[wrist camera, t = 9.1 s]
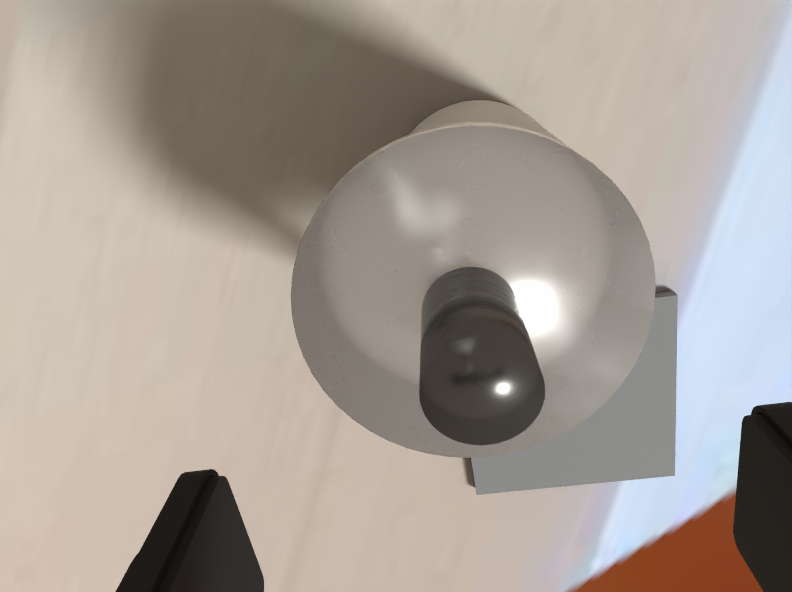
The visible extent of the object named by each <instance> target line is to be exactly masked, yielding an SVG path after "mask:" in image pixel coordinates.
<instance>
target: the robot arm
mask: <svg viewBox="0 0 792 592" xmlns="http://www.w3.org/2000/svg"><path fill="white" fill-rule="evenodd" d="M733 533H734V539H735V542H736V545H737V548H738V550H739V552H740V554H741V555H742V557H743V558H744V560H745V562H746V563H747V565H748V567H749V568H750V570H751V572H752V573H753V575H754V577H755V578H756V580H757V581H758V583H759V585H760V586H761V588H762V589H763V591H764V592H792V402H785V403H777V404H768V405H760V406H756V407H754V408H753V410H752V413H751V415H748V416H745V417H744V418H743V421H742V429H741V441H740V453H739V465H738V478H737V490H736V502H735V514H734V526H733ZM116 592H264V579H263V575H262V572H261V569H260V566H259V564H258V561H257V558H256V555H255V553H254V550H253V547H252V545H251V542H250V539H249V536H248V534H247V531H246V528H245V526H244V523H243V520H242V517H241V515H240V512H239V509H238V507H237V504H236V501H235V499H234V496H233V493H232V490H231V488H230V485H229V482H228V480H227V478H226V477H225V476H219V475H218V473H217V472H216V471H215V470H212V469H210V470H201V471H193V472H185V473H183V474H181V475H180V477H179V478H178V480H177V482H176V484H175V486H174V488H173V489H172V491H171V493H170V495H169V497H168V499H167V501H166V503H165V505H164V506H163V508H162V510H161V512H160V514H159V516H158V518H157V520H156V521H155V523H154V525H153V527H152V529H151V531H150V533H149V535H148V536H147V538H146V540H145V542H144V544H143V546H142V548H141V550H140V552H139V553H138V554H137V555H136V557H135V558H134V559H133V561H132V562H131V564H130V566H129V568H128V570H127V572H126V573H125V575H124V577H123V579H122V581H121V583H120V585H119V587H118V588H117V590H116Z"/></svg>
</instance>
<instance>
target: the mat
mask: <svg viewBox="0 0 792 592" xmlns="http://www.w3.org/2000/svg"><path fill="white" fill-rule="evenodd" d="M676 361H677V294H676V293H675V292H674V291H668V292H660V293H655V305H654V312H653V317H652V321H651V326H650V330H649V333H648V336H647V338H646V341H645V344H644V347H643V350H642V352H641V353H640V355H639V357H638V359H637V361H636V363H635V365H634V367H633V369H632V370H631V372H630V373H629V375H628V376H627V377H626V379H625V380H624V382H623V383H622V385H621V386H620V387H619V388H618V390H617V391H616V392H615V393H614V394H613V395H612V396H611V397H610V398H609V399H608V401H607V402H606V403H605V404H604V405H602V406H601V407H600V408H599V409H598V410H597V411H595V412H594V413H593V414H592V415H591V416H590V417H588V418H587V419H586V420H584V421H583V422H581V423H580V424H578V425H577V426H575V427H574V428H572V429H571V430H569V431H567V432H565V433H563V434H561V435H559V436H558V437H556V438H554V439H552V440H549V441H547V442H544V443H542V444H539V445H537V446H534V447H531V448H528V449H524V450H521V451H517V452H513V453H508V454H502V455H496V456H490V457H472V458H471V461H472V468H473V474H474V481H475V488H476V494H477V495H479V494H490V493H500V492H510V491H521V490H531V489H541V488H551V487H562V486H572V485H582V484H593V483H603V482H613V481H623V480H634V479H644V478H654V477H664V476H675V428H676Z"/></svg>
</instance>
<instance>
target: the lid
mask: <svg viewBox="0 0 792 592" xmlns="http://www.w3.org/2000/svg"><path fill="white" fill-rule="evenodd" d="M655 289H656V283H655V271H654V262H653V258H652V254H651V250H650V245H649V241H648V239H647V236H646V234H645V231H644V229H643V227H642V224H641V222H640V219H639V218H638V216H637V214H636V213H635V211H634V209H633V208H632V206H631V204H630V203H629V201H628V199H627V198H626V197H625V196H624V195H623V193H622V192H621V191H620V190H619V189H618V187H617V186H616V185H615V184H614V182H613V181H612V180H611V179H610V178H608V177H607V176H606V175H605V174H604V173H603V172H602V171H601V170H600V169H598V168H597V167H596V166H595V165H594V164H593V163H591V162H590V161H589V160H587V159H586V158H585V157H583V156H581V155H580V154H578V153H577V152H575V151H574V150H572V149H571V148H569V147H568V146H566V145H565V144H563V143H561V142H558V141H556V140H554V139H552V138H550V137H548V136H546V135H544V134H541V133H538V132H534V131H531V130H528V129H525V128H521V127H518V126H512V125H505V124H499V123H491V122H462V123H453V124H444V125H439V126H435V127H431V128H427V129H423V130H419V131H416V132H413V133H411V134H408V135H406V136H403V137H401V138H398V139H396V140H394V141H392V142H390V143H388V144H386V145H385V146H383V147H381V148H379V149H377V150H376V151H374V152H372V153H371V154H370V155H368V156H367V157H366V158H364V159H363V160H362V161H360V162H359V163H358V164H356V165H355V166H354V167H353V168H352V169H351V170H350V171H349V172H348V173H347V174H346V175H345V176H344V177H343V178H342V179H341V180H340V181H339V182H337V184H336V185H335V186H334V187H333V189H332V190H331V191H330V193H329V194H328V195H327V197H326V198H325V199H324V201H323V202H322V203H321V205H320V206H319V208H318V209H317V211H316V213H315V215H314V216H313V218H312V220H311V222H310V224H309V225H308V227H307V229H306V231H305V234H304V236H303V239H302V241H301V244H300V246H299V249H298V252H297V256H296V261H295V265H294V269H293V275H292V287H291V306H292V318H293V323H294V328H295V333H296V337H297V340H298V343H299V346H300V348H301V351H302V354H303V357H304V359H305V361H306V362H307V364H308V366H309V368H310V370H311V372H312V374H313V376H314V377H315V379H316V380H317V381H318V383H319V384H320V386H321V387H322V389H323V390H324V391H325V393H326V394H327V395H328V396H329V397H330V398H331V399H332V400H333V401H334V403H335V404H336V405H337V406H338V407H339V408H340V409H342V410H343V411H344V412H345V413H346V414H347V415H348V416H350V417H351V418H352V419H353V420H355V421H356V422H357V423H359V424H360V425H362V426H363V427H365V428H366V429H368V430H369V431H371V432H373V433H375V434H377V435H378V436H380V437H382V438H384V439H386V440H388V441H391V442H393V443H396V444H398V445H401V446H403V447H406V448H409V449H413V450H416V451H420V452H424V453H428V454H434V455H441V456H447V457H465V458H472V457H490V456H496V455H502V454H508V453H513V452H517V451H521V450H524V449H528V448H531V447H534V446H537V445H539V444H542V443H544V442H547V441H549V440H552V439H554V438H556V437H558V436H559V435H561V434H563V433H565V432H567V431H569V430H571V429H572V428H574V427H575V426H577V425H578V424H580V423H581V422H583V421H584V420H586V419H587V418H588V417H590V416H591V415H592V414H593V413H594V412H595V411H597V410H598V409H599V408H600V407H601V406H602V405H604V404H605V403H606V402H607V401H608V399H609V398H610V397H611V396H612V395H613V394H614V393H615V392H616V391H617V390H618V388H619V387H620V386H621V385H622V383H623V382H624V380H625V379H626V377H627V376H628V375H629V373H630V372H631V370H632V369H633V367H634V365H635V363H636V361H637V359H638V357H639V355H640V353H641V352H642V350H643V347H644V344H645V341H646V338H647V336H648V333H649V330H650V326H651V321H652V317H653V312H654V305H655Z"/></svg>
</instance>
